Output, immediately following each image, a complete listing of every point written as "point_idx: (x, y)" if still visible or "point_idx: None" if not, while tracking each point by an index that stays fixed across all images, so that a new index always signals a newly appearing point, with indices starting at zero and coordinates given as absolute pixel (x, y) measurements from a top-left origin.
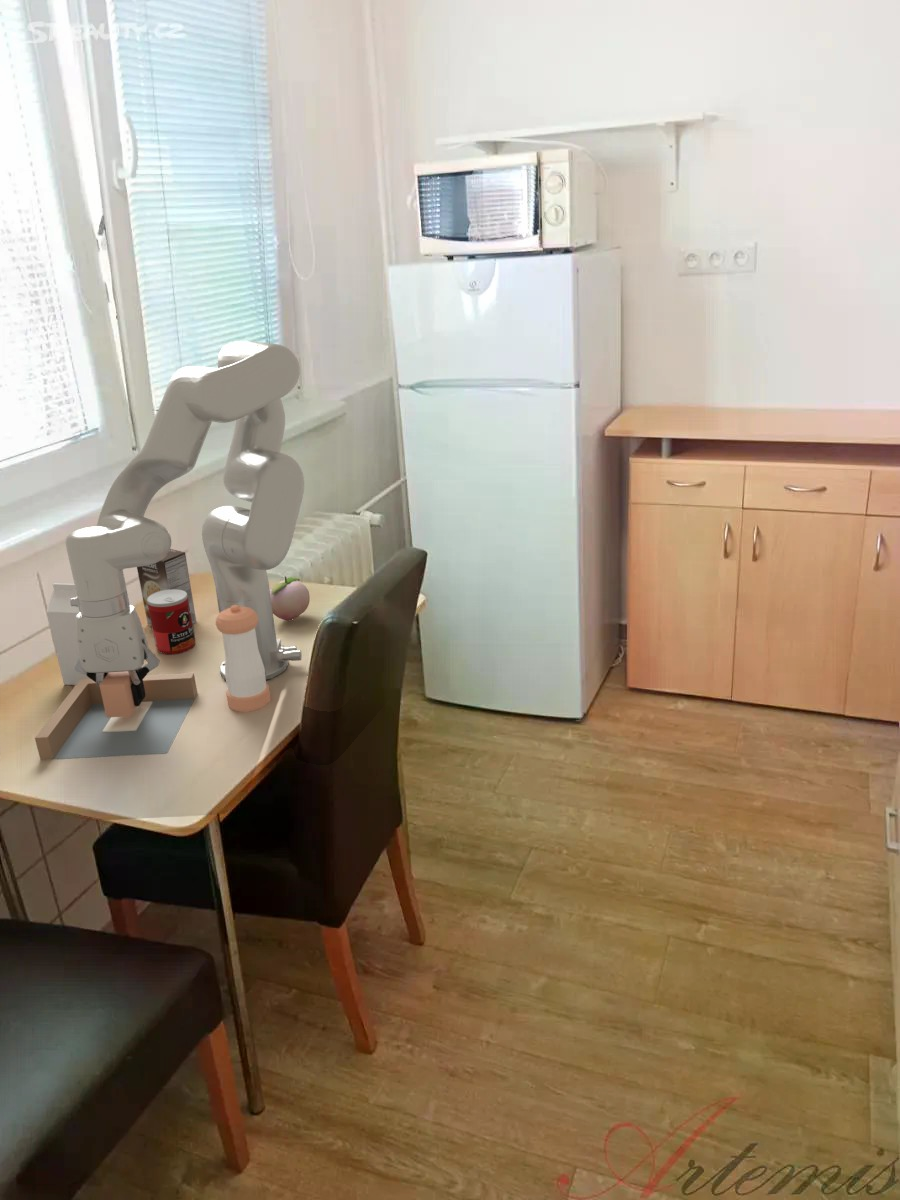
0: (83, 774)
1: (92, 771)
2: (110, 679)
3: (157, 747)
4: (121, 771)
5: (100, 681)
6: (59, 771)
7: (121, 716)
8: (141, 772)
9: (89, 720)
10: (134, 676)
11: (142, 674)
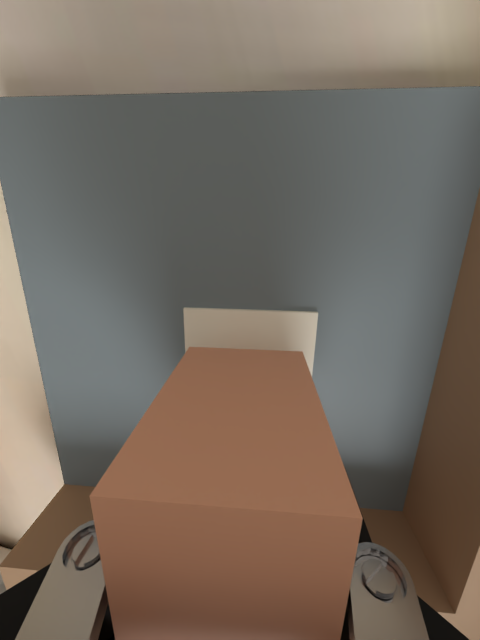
0: (327, 7)
1: (292, 34)
2: (272, 602)
3: (44, 155)
4: (164, 24)
5: (378, 598)
6: (445, 47)
7: (230, 348)
8: (76, 7)
9: (390, 406)
10: (61, 604)
11: (6, 618)
